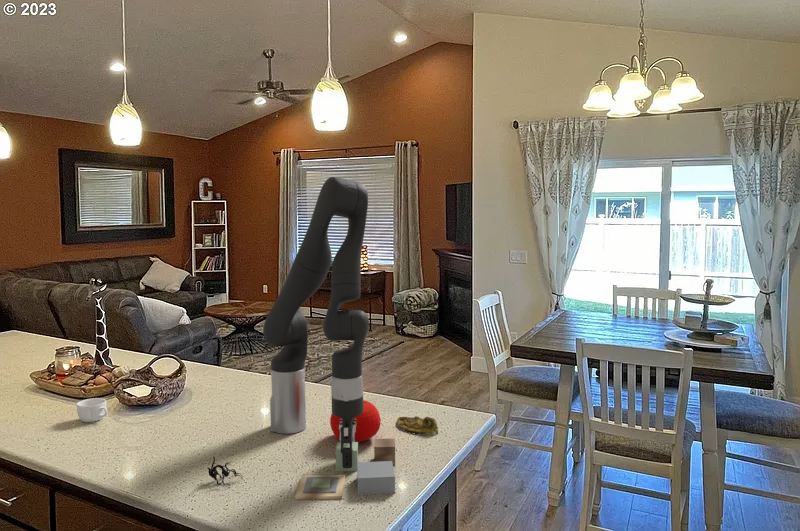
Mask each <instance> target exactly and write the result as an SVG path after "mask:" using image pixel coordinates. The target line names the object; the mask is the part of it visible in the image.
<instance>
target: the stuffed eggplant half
mask: <svg viewBox="0 0 800 531" xmlns="http://www.w3.org/2000/svg"><path fill="white" fill-rule="evenodd" d="M396 427H397V428H398V429H399V428H400V429H399V430H401V429H402V430H401V431H403V430H404V431H403V432H405V431H407V432H406V433H408V432H410V433H409V434H412V433H415V434H414V435H417V434H421V435H420V436H436V435H435V434H437V435H438V434H439V432H440V430H439V427H438V422H437V419H435V418H433V417H430V416H426V417H424V418H420V417H419V416H417V415H416V416H412V417H410V416H399V417H397V420H396Z"/></svg>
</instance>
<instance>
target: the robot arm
mask: <svg viewBox="0 0 800 531" xmlns="http://www.w3.org/2000/svg"><path fill="white" fill-rule="evenodd" d="M316 199H317V200H316V203H315V206H314V209H313V213H312V216H311V219H310V222H309V224H308V227H307V229H306V232H305V235H304V237H303V240H302V242H301V244H300V246H299V249H298V251H297V253H296V255H295V258H294V260H293V262H292V265H291V268H290V270H289V272H288V275H287V277H286V278H285V281H284V284H283V286H282V289H281V290H280V293H279V295H278V296H277V298H276V300H275V301H274V304H273V306H272V307H271V309H270V310H269V313H268V314H267V316H266V319H265V320H264V324H263V331H262V332H263V333H262V334H263V338H264V340H265V342H266V343H267V344H268V345H269V346H271V347H277V348H278V347H282V348H281V349H280V351H279V352H278V353H277V354H276V355H274V356H273V358H272V359H271V361H270V369H271V371H270V372H271V373H270V374H271V375H270V376H271V396H270V398H269V402H270V403H269V406H270V409H269V410H270V412H269V413H270V432H271V433H278V434H282V435H284V434H285V435H287V434H290V435H291V434H296V433H299V432H302V431H304V430H305V429H306V427H307V422H306V421H307V418H306V413H307V412H306V409H307V408H306V368H305V367H306V366H305V363H306V361H307V358H308V343H309V342H308V341H309V340H308V338H309V336H308V335H309V333H308V332H309V328H308V322H307V318H306V316H305V315H304V313H303V312H302V311H300V310H299V309H300V308H301V306H303V305H304V304H305V303H306V302H307V301H308V300H309V299H310V298H311V297H312V296H313V295H314V294H315V293H316V292H318V290H319V289H320V288H321V286H322V285H323V283H324V282H325V280H326V278H327V276H328V273H329V271H330V269H331V271H330V279H331V280H330V284H331V287H330V298H329V299H330V300H329V304H328V307H327V311H326V314H325V317H324V320H323V325H322V328H323V333H324V334H323V335H324V336H325V337H326V339H328V340H329V341H333V342H339V341H353V343H352V344H351V345H350V346H348V347H346V348H342V349H338V350H335V351H333V353H332V355H331V375H332V376H331V386H330V387H331V414H333V415H334V416H336V417H340V418H342V419H340V423H339V430H340V440H339V442H341V450H340V452H341V453H342V465H343V468H352V451H353V449H352V444H353V443H354V442H355V432H356V419H354V417H357V416H359V415H361V414H362V413H363V400H364V382H363V363H362V362H363V359H362V358H363V351H364V345H365V341H366V339H367V335H368V331H369V327H370V322H369V321H370V320H369V316H368V315H367V314H366V312H365V311H363V310H360V309H359V310H357V309H356V310H350V309H349V310H340V308H341V306H342V305H343V304H346V303H349V302H354V301H357V300H359V299H360V298H361V295H362V294H361V293H362V290H361V289H362V288H361V285H362V283H361V282H362V281H361V280H362V279H361V278H362V276H361V265H362V262H361V261H362V260H361V259H362V252H363V251H362V249H363V244H364V238H365V231H366V223H367V218H368V217H367V216H368V207H369V192H368V189H367V187H366V186H365V185H364V184H363V183H361V182H358V181H355V180H350V179H346V178H341V177H337V176H331V177H328V178H327V179H326V180H325V182H324V183H323V184H322V186H321V189H320V191H319V194H318V197H317V198H316ZM335 216H336V217H340V218H347V219H348V220H347V222H348V223H347V225H348V227H347V233H346V236H345V238H344V240H343V242H342V244H341V246H340V247H339V249H338V250H337V251H336V254H335V255H334V258H333V257H332V250H331V246H330V241H329V238H328V234H329V233H328V232H329V231H328V230H329V227H330V223H331V221H332V218H333V217H335ZM344 443H349V444H350V447H344Z"/></svg>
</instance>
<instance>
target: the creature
mask: <svg viewBox="0 0 800 531" xmlns="http://www.w3.org/2000/svg"><path fill="white" fill-rule="evenodd" d="M212 458H213V460H212V464H211V467H206V469H207V470H208V474H209V476H210V477H211V478H212V479H214V481H216V485H218V486H219V485H221V484H222V485H223V486H225V487H226V488H228V489H231V485H230V484H228V482H226V483H225V482H224V479H225V478H228V479H231V478H232V477H235V478H236V477H240V478H241V479H243V478H244V476H243V475H242V474H241V472H237V471H236V469H234V468H232V469H229V467H227V466H229V465H230V464H231V462H230V461H229V462H228V461H227V462H225V463H224V465H221V464H216V465H215V461H216V459H215V456H213V457H212ZM217 468H219V469H220V470H221V474H220V473H219V472H218V470H217ZM230 472H232V474H233V475H232V476H230V477H229V475H230ZM217 475H218V476H219V479H221V480H222V481H221V482H222V483H219V480H218V479H217ZM227 485H228V486H227Z"/></svg>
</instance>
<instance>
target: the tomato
mask: <svg viewBox="0 0 800 531" xmlns="http://www.w3.org/2000/svg"><path fill="white" fill-rule="evenodd" d="M340 419H342V418H340V417H336V416H334V415H333V414H332V413H331V415H330V418H329V422H330V429H331V431H332V432H333V434H334V436H335V438H337V439H338V440H339V441H340V430H339V423H340ZM354 419H356V432H355V442H358V443H362V442H365V441H368V440H370V439H372V438H373V437H374V436H375V435H377V433H378V432H379V430H380V427H381V424H382V422H381V419H382V418H381V416H380V413H379V410H378V409H377V407H376V406H375V405H374V404H373V403H372V402H370V401H368V400H365V399H363V413H362V414H361V415H359V416H357V417H354Z"/></svg>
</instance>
